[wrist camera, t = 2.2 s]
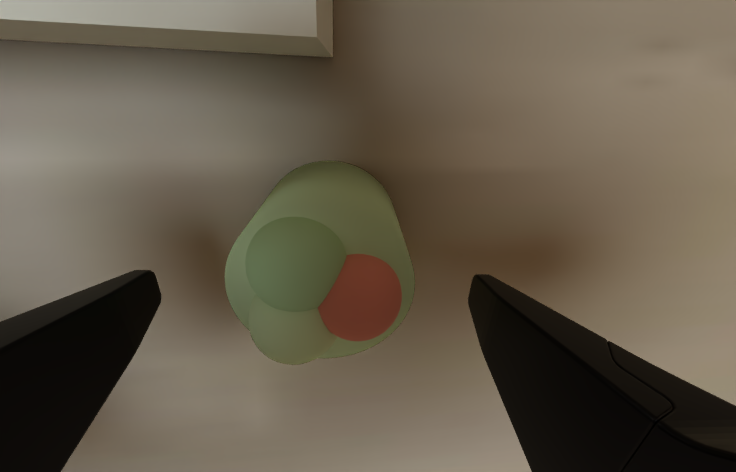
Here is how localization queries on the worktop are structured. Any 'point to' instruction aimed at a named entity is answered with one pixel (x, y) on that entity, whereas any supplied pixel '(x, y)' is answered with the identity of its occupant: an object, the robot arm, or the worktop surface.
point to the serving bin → (176, 24)
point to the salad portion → (321, 266)
